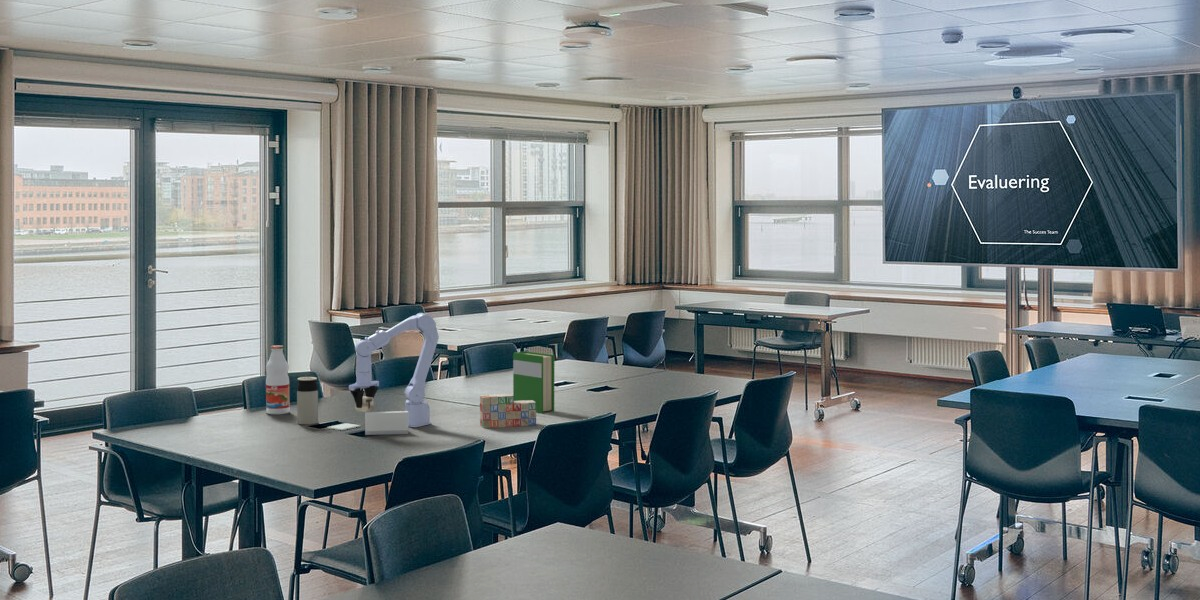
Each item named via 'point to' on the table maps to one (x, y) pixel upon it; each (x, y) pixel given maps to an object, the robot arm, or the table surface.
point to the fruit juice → (277, 383)
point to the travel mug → (307, 401)
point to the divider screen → (386, 423)
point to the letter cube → (366, 404)
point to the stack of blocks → (506, 411)
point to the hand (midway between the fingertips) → (364, 406)
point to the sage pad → (343, 426)
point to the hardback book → (534, 379)
